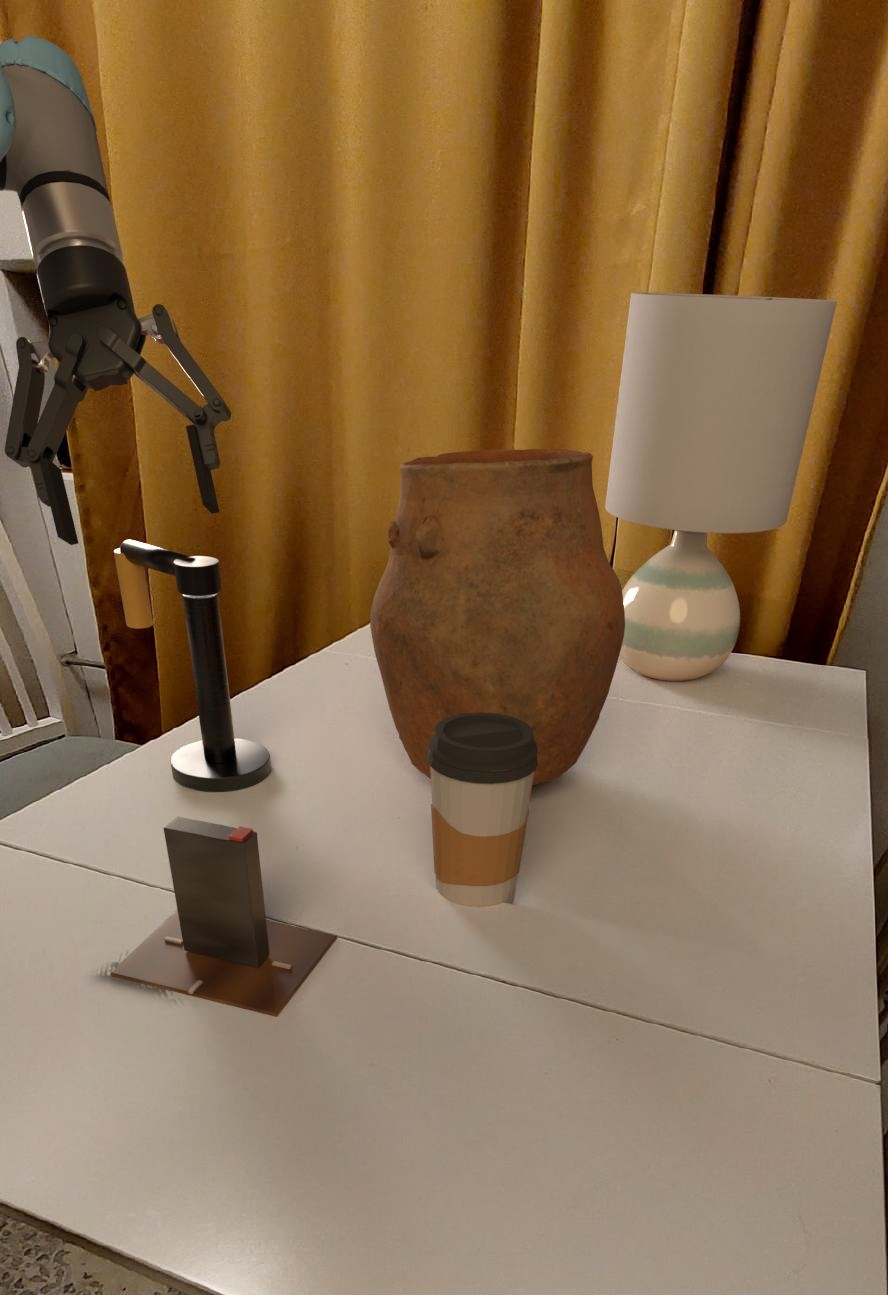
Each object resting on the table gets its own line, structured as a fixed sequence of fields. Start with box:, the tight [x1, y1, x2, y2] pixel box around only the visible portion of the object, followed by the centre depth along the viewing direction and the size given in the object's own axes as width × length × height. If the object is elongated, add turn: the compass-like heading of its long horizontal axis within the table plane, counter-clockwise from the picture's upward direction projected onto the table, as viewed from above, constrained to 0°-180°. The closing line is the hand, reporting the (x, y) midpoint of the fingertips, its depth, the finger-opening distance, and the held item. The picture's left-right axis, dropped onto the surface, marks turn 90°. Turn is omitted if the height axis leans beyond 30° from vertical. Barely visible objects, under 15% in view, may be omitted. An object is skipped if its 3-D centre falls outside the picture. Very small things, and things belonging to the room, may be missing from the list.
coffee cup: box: [427, 712, 538, 908], centre depth 74 cm, size 8×8×15 cm
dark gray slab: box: [163, 816, 270, 968], centre depth 65 cm, size 6×2×10 cm, turn 71°
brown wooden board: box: [109, 909, 338, 1018], centre depth 69 cm, size 13×10×2 cm
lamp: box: [604, 292, 838, 682], centre depth 113 cm, size 22×22×40 cm
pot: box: [369, 448, 625, 786], centre depth 89 cm, size 24×24×30 cm
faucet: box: [169, 593, 272, 793], centre depth 92 cm, size 10×10×18 cm
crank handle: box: [113, 539, 223, 630], centre depth 89 cm, size 14×4×8 cm, turn 50°
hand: (139, 525), depth 85 cm, fingers open, 13 cm apart
